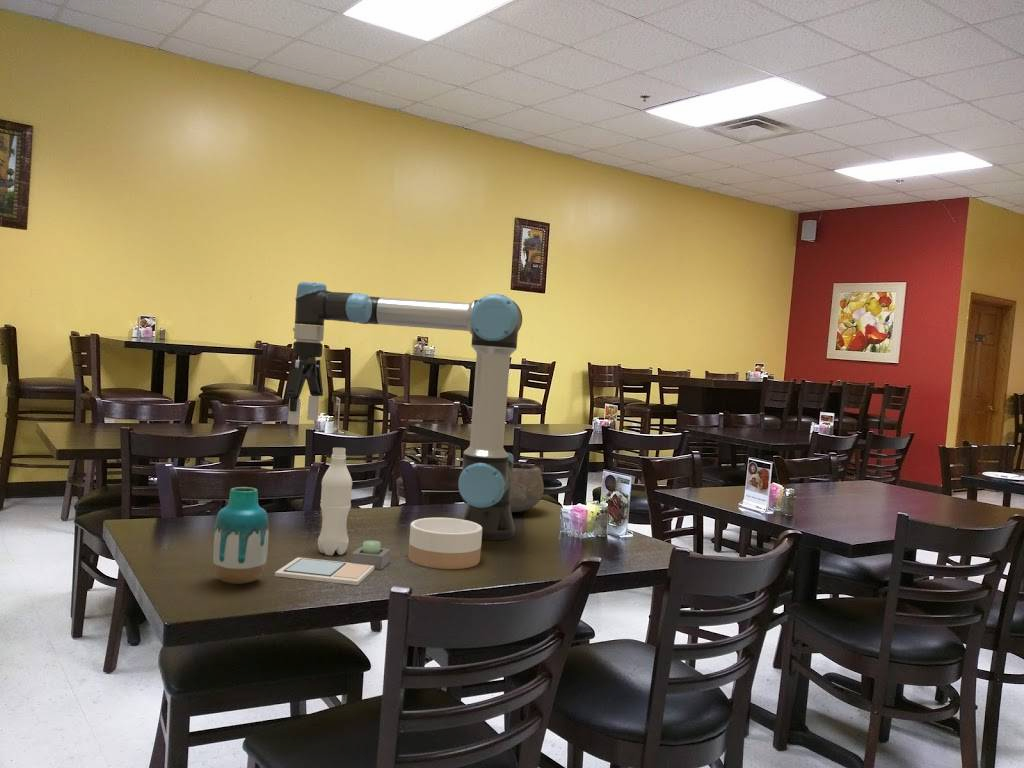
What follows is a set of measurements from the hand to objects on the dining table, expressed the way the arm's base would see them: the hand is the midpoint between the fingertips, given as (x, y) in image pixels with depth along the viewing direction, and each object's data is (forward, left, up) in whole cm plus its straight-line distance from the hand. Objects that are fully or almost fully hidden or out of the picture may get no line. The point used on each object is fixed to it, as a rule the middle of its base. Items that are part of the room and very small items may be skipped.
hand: (303, 422), depth 220 cm
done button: (-28, +28, -26) cm, 47 cm away
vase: (-7, +51, -28) cm, 58 cm away
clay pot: (-51, -46, -28) cm, 75 cm away
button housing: (-28, +28, -28) cm, 48 cm away
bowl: (-43, +17, -28) cm, 54 cm away
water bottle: (-17, +22, -28) cm, 39 cm away
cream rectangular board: (-21, +38, -28) cm, 51 cm away
